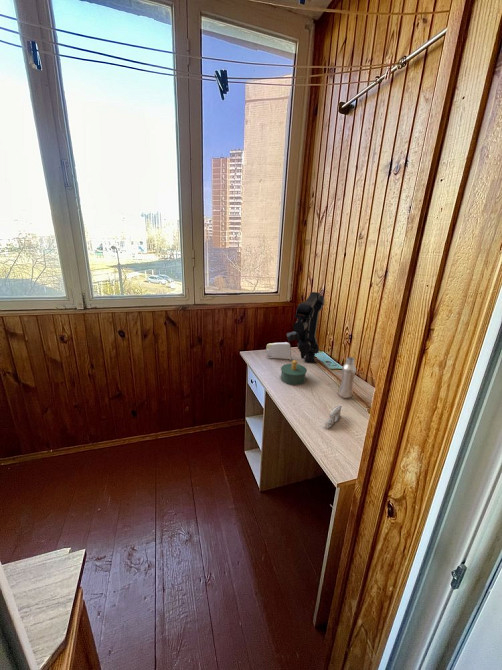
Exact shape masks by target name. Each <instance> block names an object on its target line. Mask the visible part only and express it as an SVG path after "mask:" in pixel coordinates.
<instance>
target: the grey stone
mask: <svg viewBox="0 0 502 670" xmlns="http://www.w3.org/2000/svg"><path fill="white" fill-rule="evenodd" d="M341 411H342V405H341V404H338V405H337V406H336V407H334V408H333V409H332V410H331V412H330V413H329V414H328V416H329V418H328V419H327V420H326V421H325V429H328V430H329V429H330V428H331V426H332V425H334V423H336V422H337V421H338V419H339V418H340V417H341Z"/></svg>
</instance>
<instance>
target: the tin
mask: <svg viewBox="0 0 502 670" xmlns="http://www.w3.org/2000/svg"><path fill="white" fill-rule="evenodd" d="M280 373H281V374H280V379H281V381H282V382H283V383H284V384H287V385H292V386H298V385H302V384H304V383H305V381H306V376H307V373H306V374H304V375H301V376H291V375H287V374H285V373H283V372H282V371H281V372H280Z"/></svg>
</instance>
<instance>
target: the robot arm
mask: <svg viewBox="0 0 502 670" xmlns="http://www.w3.org/2000/svg"><path fill="white" fill-rule="evenodd" d="M325 301H326V299H325V296H323V295H322V294H321V293H320V292H316V291H311V292H310V293H309V296H308V297H307V299H306V300H305V301H302V302H300V303H299V304H298V305H297V308H296V312H295V315H294V318H295V319H297V320H296V322H294V323H293V325H292V329H293V331H290V332H287V333H286V338H287V341H288V342H292V341H296V342H297V349H298V350H299V353H300V358H301V360H304V363H311V364H312V363H314V364H315V363H316V359H315V357H316V355H317V354H319V352H320V347H319V343H318V341H319V340H318V339H317V329H318V323H319V316H320V312H321V311H322V309H324V308H323V307H324V306H325V303H326V302H325Z"/></svg>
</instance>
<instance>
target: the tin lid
mask: <svg viewBox="0 0 502 670" xmlns="http://www.w3.org/2000/svg"><path fill="white" fill-rule="evenodd" d="M280 371H281V372H283V373H285V374H287V375H291V376H301V375H304V374H306V375H307V372H308V369H307V368H306V366H304V365H302V364H298V360H295V359H294V360H291V363H285V364H283V365H282V366H281V367H280Z"/></svg>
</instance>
